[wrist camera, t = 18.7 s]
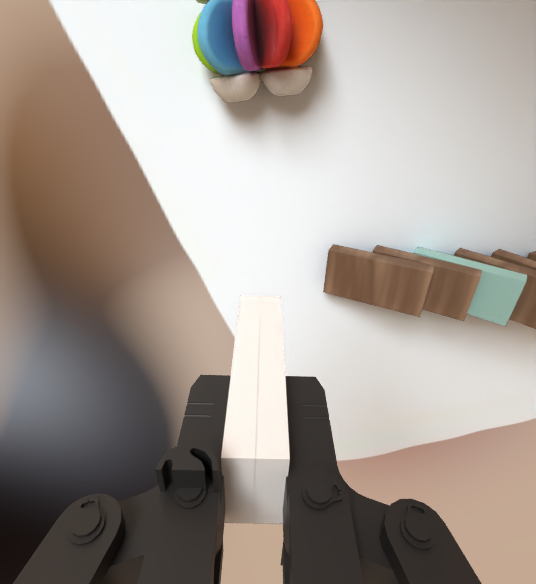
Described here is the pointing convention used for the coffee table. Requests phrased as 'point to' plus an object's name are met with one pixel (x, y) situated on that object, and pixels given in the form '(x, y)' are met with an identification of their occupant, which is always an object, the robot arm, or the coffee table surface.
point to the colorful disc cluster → (257, 45)
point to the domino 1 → (377, 279)
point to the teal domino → (488, 288)
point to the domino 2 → (443, 283)
